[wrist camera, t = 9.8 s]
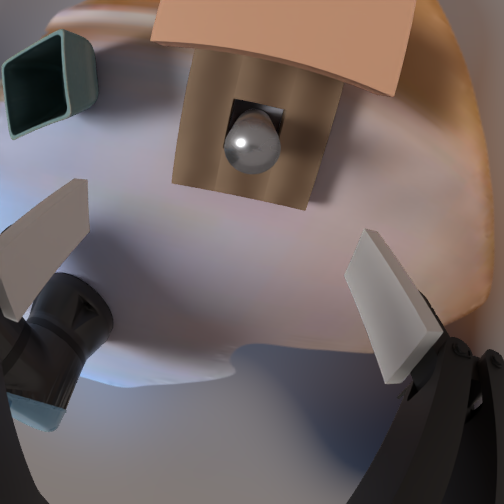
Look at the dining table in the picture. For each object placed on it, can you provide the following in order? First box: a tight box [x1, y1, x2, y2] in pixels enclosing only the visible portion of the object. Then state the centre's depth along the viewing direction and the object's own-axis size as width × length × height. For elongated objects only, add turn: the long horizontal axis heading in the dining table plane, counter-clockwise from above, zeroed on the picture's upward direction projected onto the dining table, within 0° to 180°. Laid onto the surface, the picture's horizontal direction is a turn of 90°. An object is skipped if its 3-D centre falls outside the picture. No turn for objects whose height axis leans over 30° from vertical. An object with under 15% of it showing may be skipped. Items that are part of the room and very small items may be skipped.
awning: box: [150, 0, 416, 97], centre depth 16 cm, size 15×11×13 cm
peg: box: [224, 109, 281, 174], centre depth 23 cm, size 4×4×12 cm
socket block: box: [172, 48, 344, 211], centre depth 27 cm, size 14×14×3 cm
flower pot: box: [2, 29, 99, 140], centre depth 20 cm, size 9×9×9 cm
